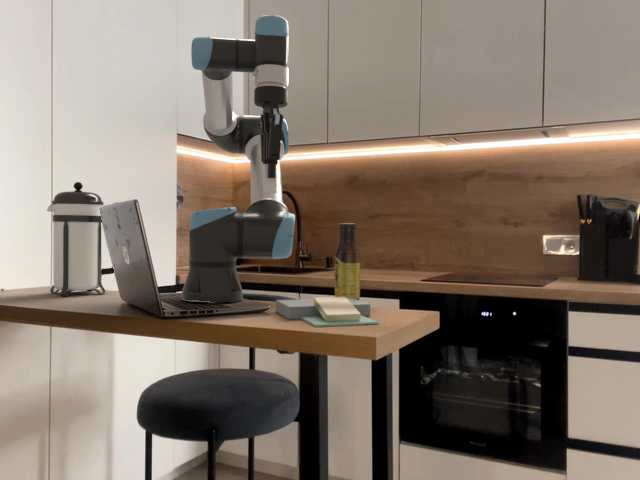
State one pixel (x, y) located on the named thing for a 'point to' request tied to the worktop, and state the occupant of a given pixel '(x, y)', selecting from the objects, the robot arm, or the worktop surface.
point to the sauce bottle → (347, 264)
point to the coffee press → (77, 242)
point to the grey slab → (312, 308)
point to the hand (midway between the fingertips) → (269, 193)
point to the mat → (320, 322)
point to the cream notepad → (336, 309)
